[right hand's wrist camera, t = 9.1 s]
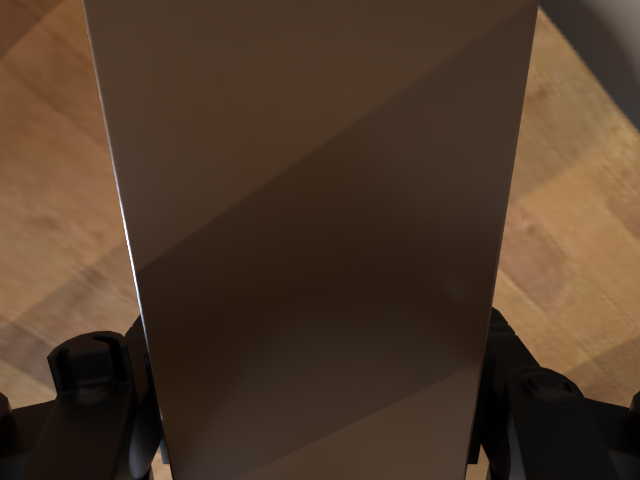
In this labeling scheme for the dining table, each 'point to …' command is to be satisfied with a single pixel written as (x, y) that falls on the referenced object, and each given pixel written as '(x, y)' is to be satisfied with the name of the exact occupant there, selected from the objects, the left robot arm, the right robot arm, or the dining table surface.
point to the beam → (314, 222)
